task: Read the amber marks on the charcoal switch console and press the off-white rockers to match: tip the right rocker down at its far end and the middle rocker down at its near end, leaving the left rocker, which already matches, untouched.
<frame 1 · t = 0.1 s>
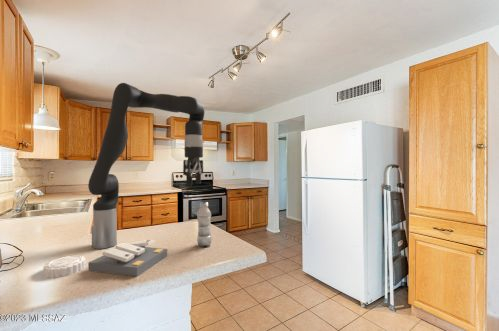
hand: (194, 184, 100), 29 cm above the counter, tool pointing down, fingers open, 8 cm apart
rocker 2: (140, 243, 97), point 6 cm above the counter, hinge at -10.0°
switch console: (130, 262, 91), on the counter
mooncake: (65, 271, 86), on the counter
middle rocker: (130, 248, 91), point 6 cm above the counter, hinge at 10.0°
rocker 1: (118, 254, 86), point 6 cm above the counter, hinge at 10.0°
plastic bottle: (204, 245, 110), on the counter
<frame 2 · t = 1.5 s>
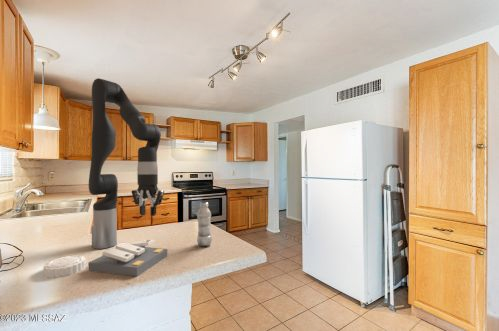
hand: (148, 215, 96), 17 cm above the counter, tool pointing down, fingers open, 4 cm apart
nothing on the counter moved.
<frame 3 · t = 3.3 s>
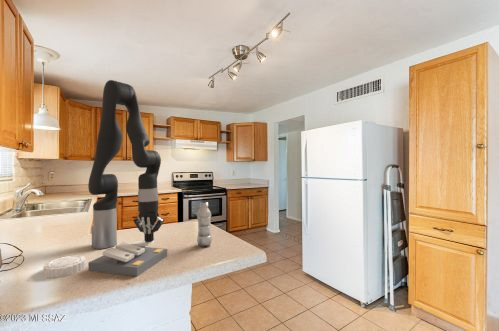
hand: (149, 242, 96), 6 cm above the counter, tool pointing down, fingers closed
rocker 2: (140, 243, 97), point 6 cm above the counter, hinge at -7.9°, touching gripper
everything else where it was.
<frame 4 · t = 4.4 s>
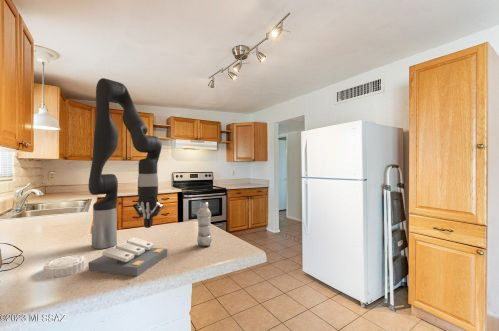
hand: (148, 227, 97), 12 cm above the counter, tool pointing down, fingers closed
rocker 2: (140, 243, 97), point 6 cm above the counter, hinge at 12.0°
everything else where it was.
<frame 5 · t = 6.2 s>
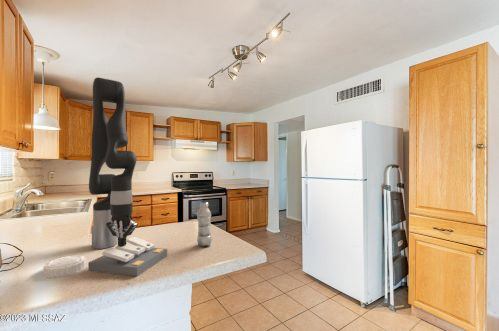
hand: (122, 246, 92), 6 cm above the counter, tool pointing down, fingers closed
rocker 2: (140, 243, 97), point 6 cm above the counter, hinge at 16.8°
middle rocker: (130, 248, 91), point 6 cm above the counter, hinge at 5.9°, touching gripper
everything else where it was.
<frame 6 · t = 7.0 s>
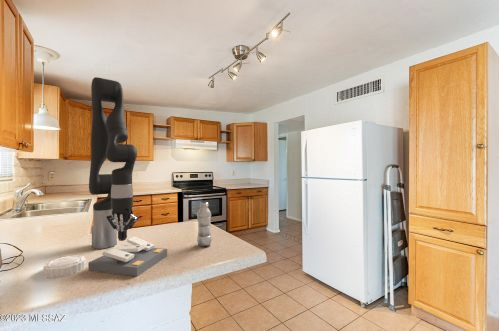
hand: (122, 240, 92), 8 cm above the counter, tool pointing down, fingers closed
middle rocker: (130, 248, 91), point 6 cm above the counter, hinge at -7.2°
everything else where it was.
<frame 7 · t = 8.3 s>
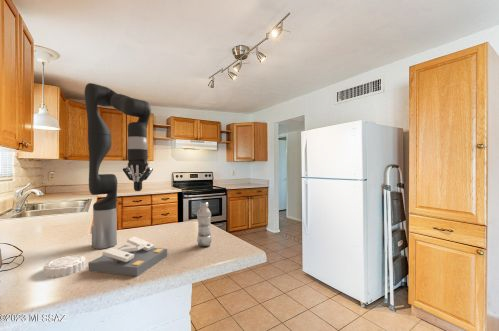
hand: (138, 190, 97), 27 cm above the counter, tool pointing down, fingers closed
middle rocker: (130, 248, 91), point 6 cm above the counter, hinge at -12.1°
everything else where it was.
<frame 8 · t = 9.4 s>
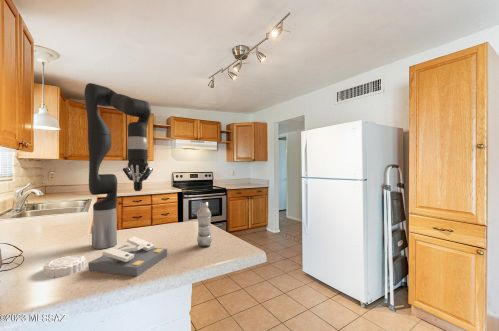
hand: (138, 190, 97), 27 cm above the counter, tool pointing down, fingers closed
middle rocker: (130, 248, 91), point 6 cm above the counter, hinge at -12.8°
everything else where it was.
at the end: rocker 2 at +17° (first picture: -10°); middle rocker at -13° (first picture: +10°); rocker 1 at +10° (first picture: +10°) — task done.
